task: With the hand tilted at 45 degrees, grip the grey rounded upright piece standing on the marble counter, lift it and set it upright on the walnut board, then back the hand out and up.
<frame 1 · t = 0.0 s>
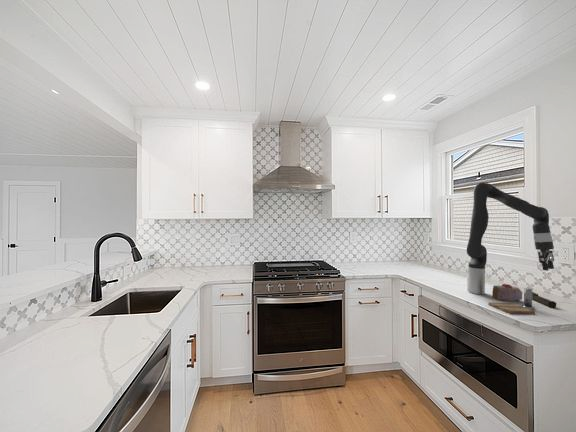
hand: (548, 269, 146), 22 cm above the worktop, tool pointing down, fingers open, 8 cm apart
grey rounded upright piece: (528, 308, 147), on the worktop
food item: (506, 300, 162), on the worktop
walnut board: (510, 309, 145), on the worktop
hand tool: (539, 303, 157), on the worktop
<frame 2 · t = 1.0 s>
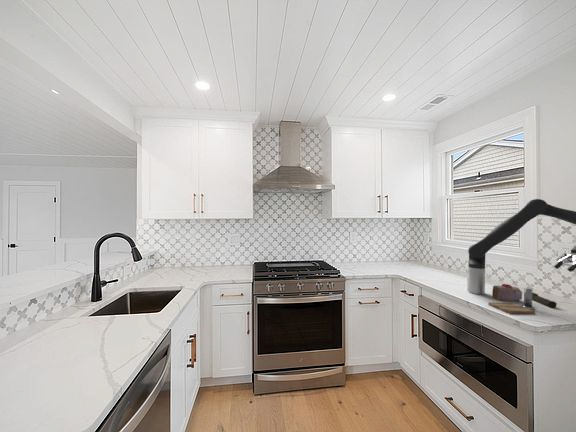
hand: (561, 269, 143), 23 cm above the worktop, tool tilted 45°, fingers open, 8 cm apart
nothing on the worktop moved.
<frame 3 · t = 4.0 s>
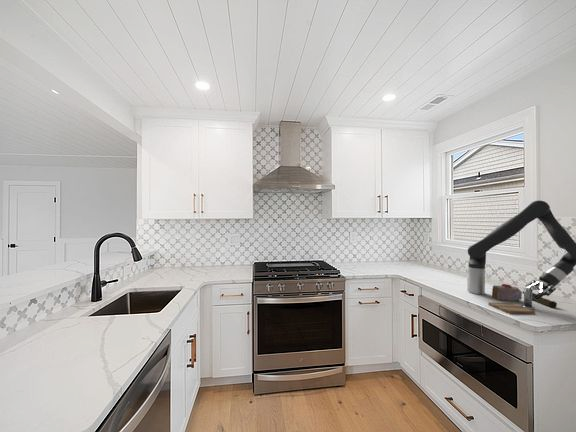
hand: (529, 296, 147), 7 cm above the worktop, tool tilted 45°, fingers open, 8 cm apart
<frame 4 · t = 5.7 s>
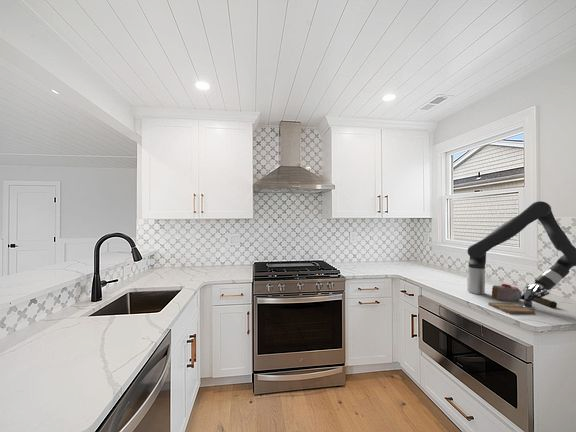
hand: (524, 299, 147), 5 cm above the worktop, tool tilted 45°, fingers closed on grey rounded upright piece, 3 cm apart
grey rounded upright piece: (528, 308, 147), on the worktop, touching gripper
everything else where it was.
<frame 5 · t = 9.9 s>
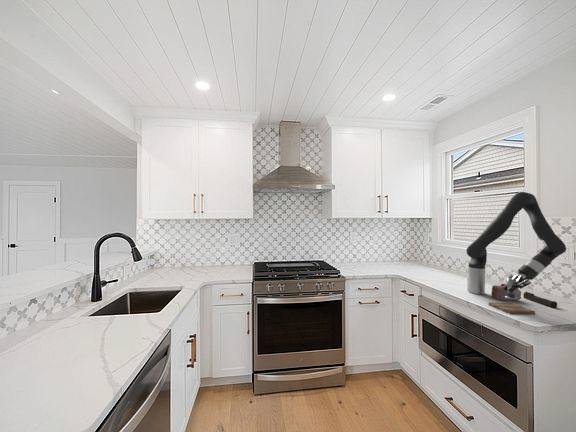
hand: (507, 290, 145), 11 cm above the worktop, tool tilted 45°, fingers closed on grey rounded upright piece, 3 cm apart
grey rounded upright piece: (511, 298, 145), point 6 cm above the worktop, touching gripper
when the fingers open (7 cm above the worktop, at t = 11.5 s): grey rounded upright piece stays where it is, resting on walnut board.
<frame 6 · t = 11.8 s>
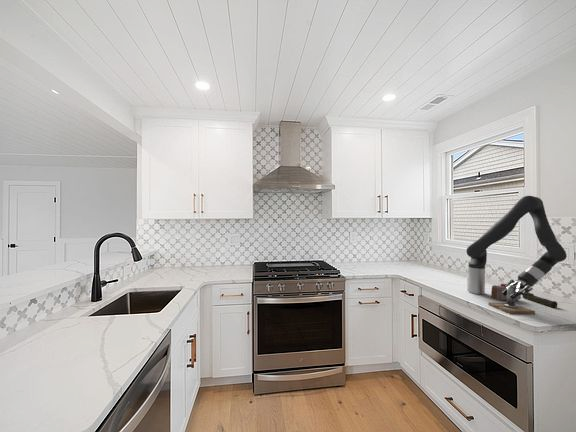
hand: (507, 296, 145), 7 cm above the worktop, tool tilted 45°, fingers open, 6 cm apart
grey rounded upright piece: (510, 306, 145), point 2 cm above the worktop, touching walnut board
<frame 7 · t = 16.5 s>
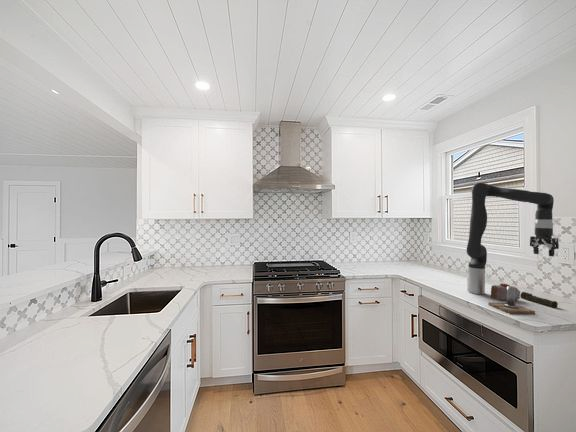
hand: (543, 255, 149), 30 cm above the worktop, tool pointing down, fingers open, 8 cm apart
at the end: grey rounded upright piece inside the target area on the walnut board (0.1 cm from its centre), point 1.5 cm above the walnut board's base; grey rounded upright piece tilted 0°; the gripper is holding nothing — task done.
